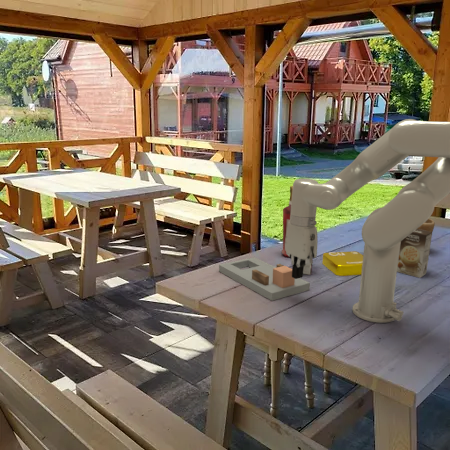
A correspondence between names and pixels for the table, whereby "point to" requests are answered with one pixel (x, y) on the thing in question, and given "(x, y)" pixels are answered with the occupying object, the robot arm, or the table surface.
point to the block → (283, 276)
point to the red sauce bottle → (286, 220)
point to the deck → (246, 279)
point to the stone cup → (427, 225)
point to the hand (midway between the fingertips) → (297, 277)
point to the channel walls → (262, 276)
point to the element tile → (343, 263)
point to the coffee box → (415, 253)
